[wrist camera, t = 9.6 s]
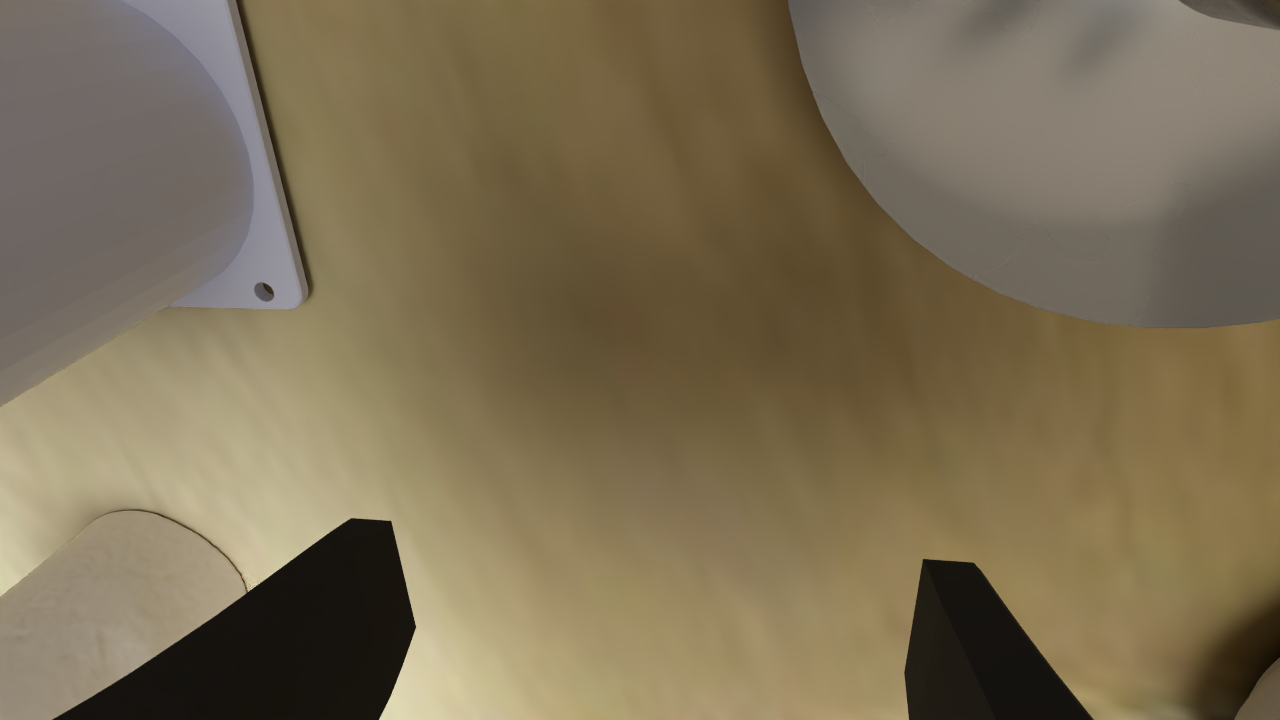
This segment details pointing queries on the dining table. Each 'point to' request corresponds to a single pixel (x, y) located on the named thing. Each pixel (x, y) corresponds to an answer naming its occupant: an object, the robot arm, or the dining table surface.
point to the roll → (105, 610)
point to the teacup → (1263, 697)
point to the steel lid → (1068, 145)
